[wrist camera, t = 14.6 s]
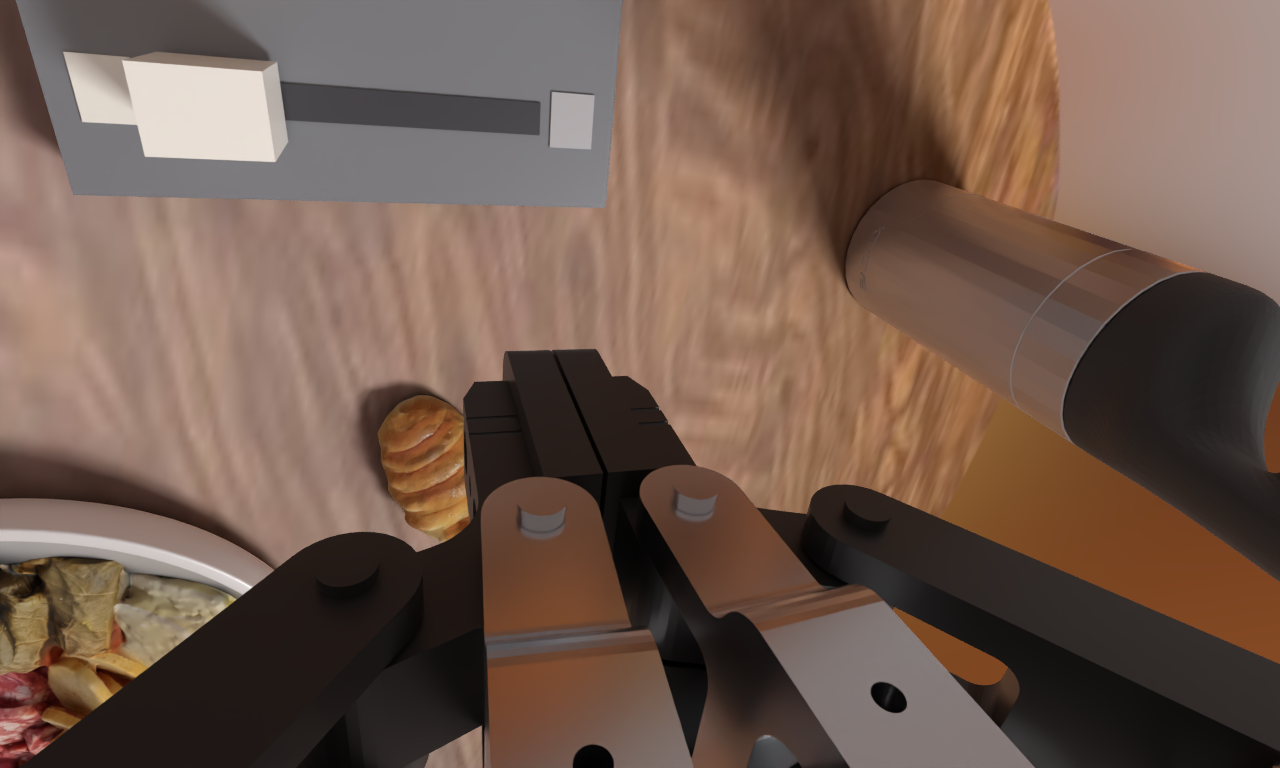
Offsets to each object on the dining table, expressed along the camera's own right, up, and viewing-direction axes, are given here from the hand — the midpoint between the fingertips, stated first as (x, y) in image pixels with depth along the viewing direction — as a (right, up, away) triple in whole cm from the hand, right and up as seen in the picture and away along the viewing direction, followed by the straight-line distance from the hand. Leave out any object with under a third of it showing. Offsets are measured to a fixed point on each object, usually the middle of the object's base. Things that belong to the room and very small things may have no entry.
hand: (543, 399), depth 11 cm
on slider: (-15, +11, +15) cm, 24 cm away
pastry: (-11, -5, +30) cm, 33 cm away
